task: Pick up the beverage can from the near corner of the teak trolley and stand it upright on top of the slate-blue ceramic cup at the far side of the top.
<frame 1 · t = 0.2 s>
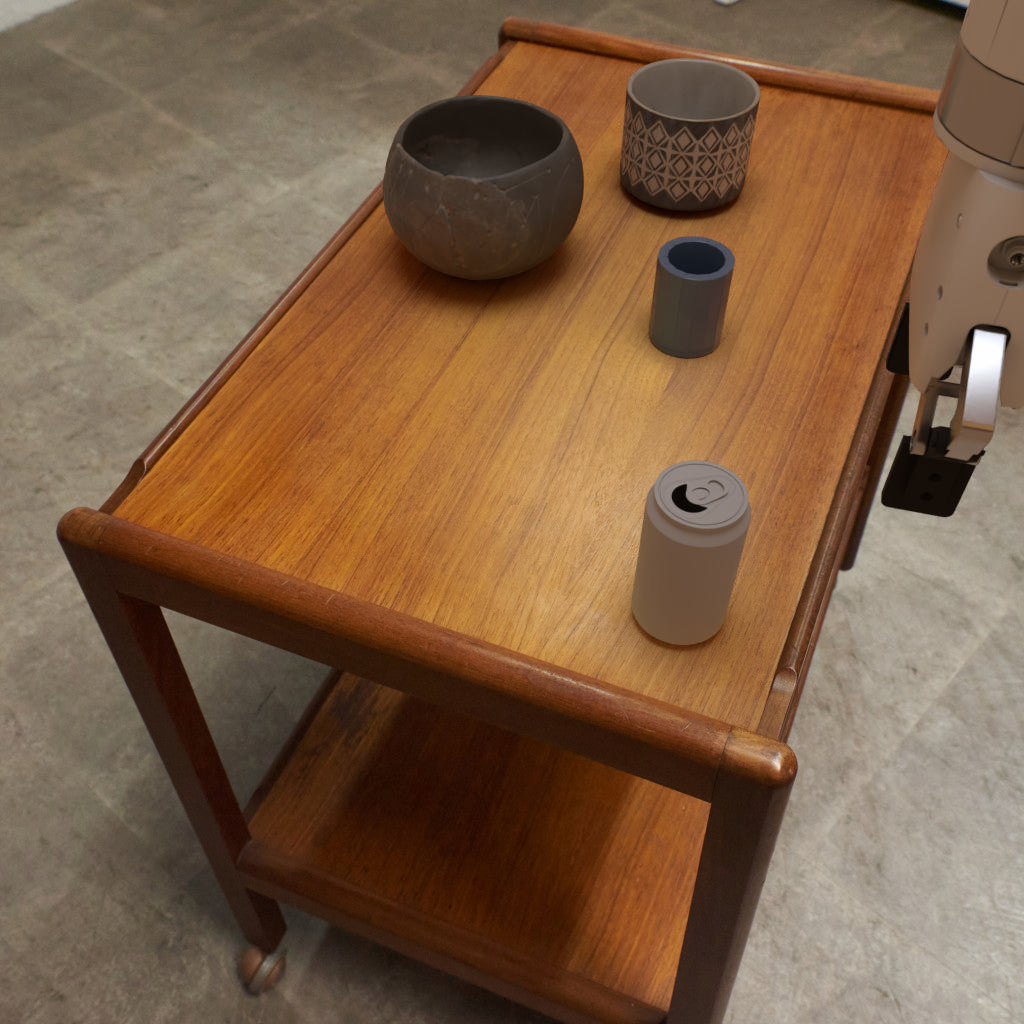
hand: (915, 436, 52), 22 cm above the serving cart, tool pointing down, fingers open, 9 cm apart
cup: (684, 335, 93), on the serving cart
bowl: (485, 257, 101), on the serving cart
beverage can: (677, 614, 73), on the serving cart
planter: (680, 188, 109), on the serving cart
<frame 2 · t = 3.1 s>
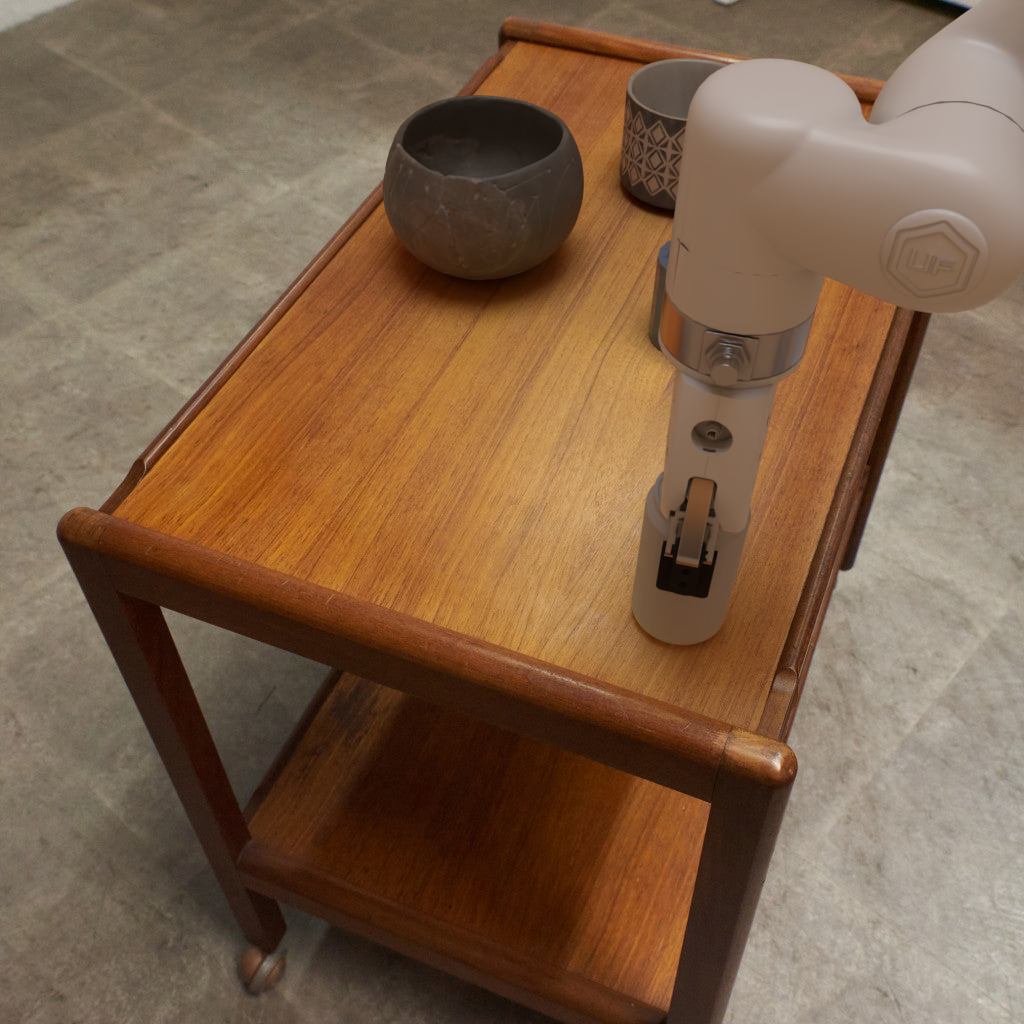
hand: (690, 545, 67), 7 cm above the serving cart, tool pointing down, fingers closed on beverage can, 6 cm apart
beverage can: (677, 614, 73), on the serving cart, touching gripper
everything else where it was.
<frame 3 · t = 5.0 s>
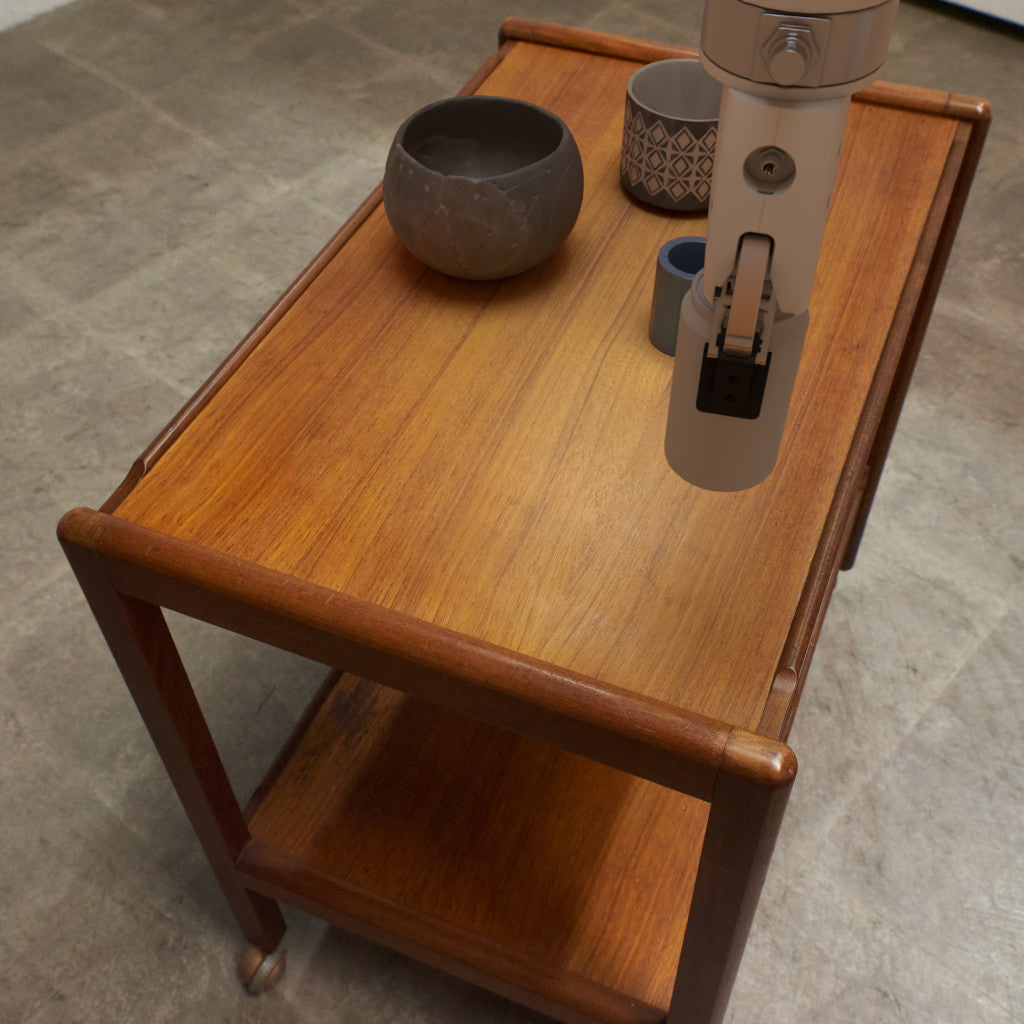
hand: (735, 365, 56), 22 cm above the serving cart, tool pointing down, fingers closed on beverage can, 6 cm apart
beverage can: (718, 463, 61), point 15 cm above the serving cart, touching gripper
everything else where it was.
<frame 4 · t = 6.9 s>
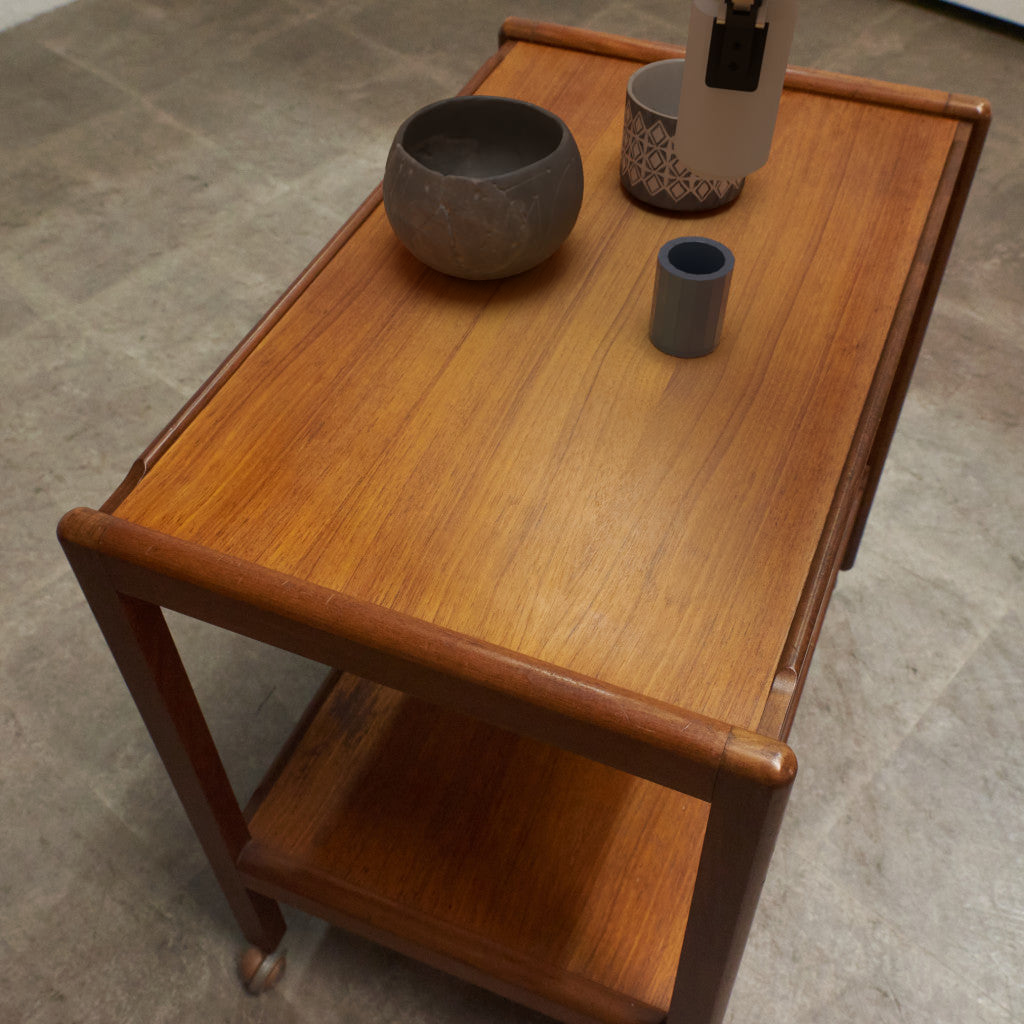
hand: (737, 59, 67), 28 cm above the serving cart, tool pointing down, fingers closed on beverage can, 6 cm apart
beverage can: (719, 164, 72), point 21 cm above the serving cart, touching gripper
everything else where it was.
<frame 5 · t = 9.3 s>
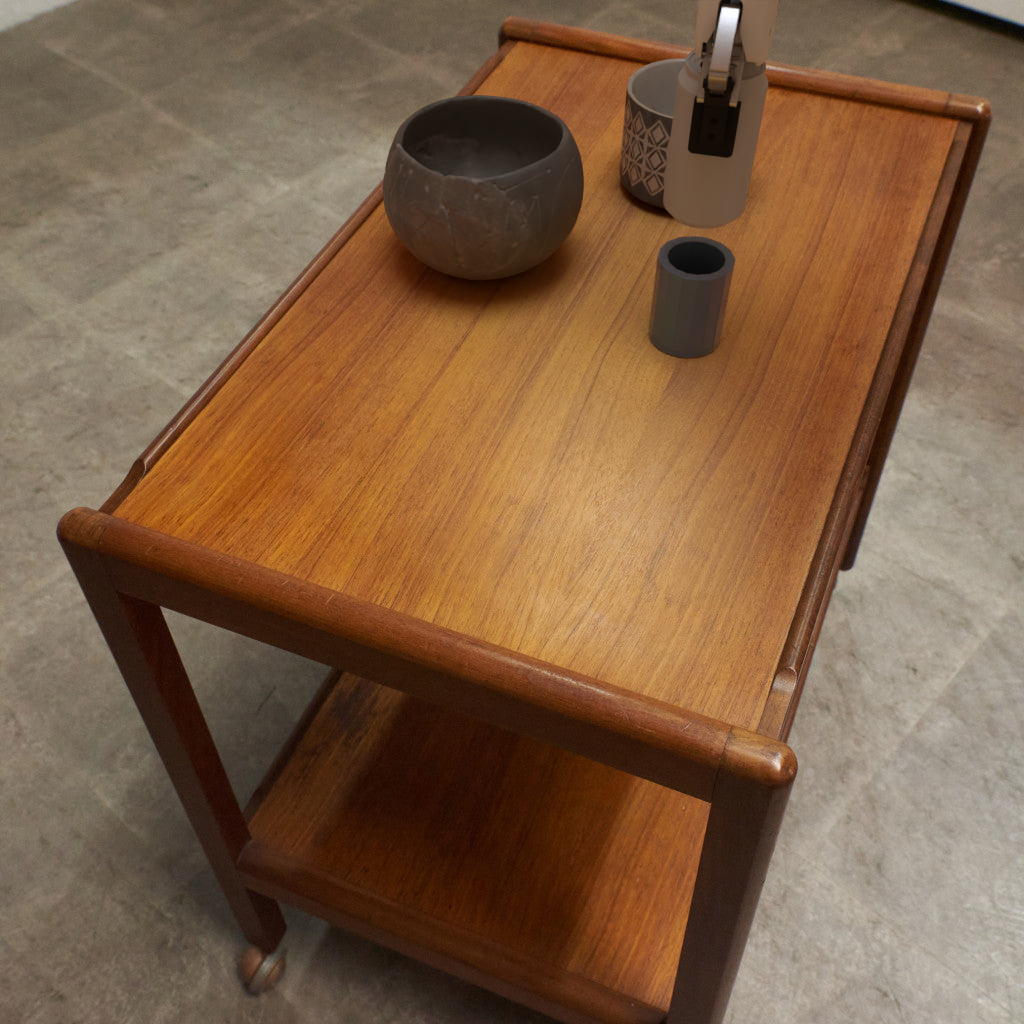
hand: (716, 127, 78), 19 cm above the serving cart, tool pointing down, fingers closed on beverage can, 6 cm apart
beverage can: (702, 213, 84), point 12 cm above the serving cart, touching gripper
everything else where it was.
when the fingers open (15 cm above the serving cart, at t = 10.9 s): beverage can stays where it is, resting on cup.
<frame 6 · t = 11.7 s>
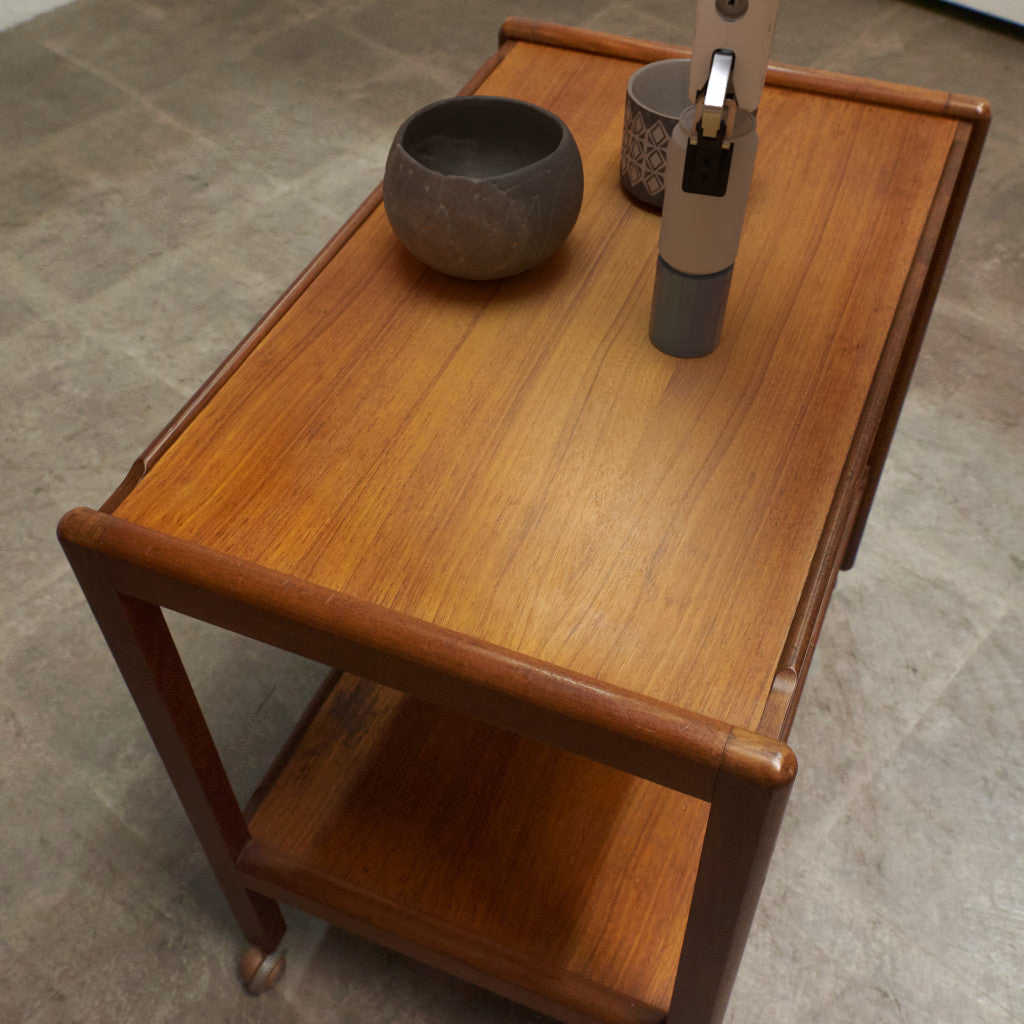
hand: (712, 159, 80), 17 cm above the serving cart, tool pointing down, fingers open, 9 cm apart
beverage can: (696, 259, 87), point 8 cm above the serving cart, touching cup
everything else where it was.
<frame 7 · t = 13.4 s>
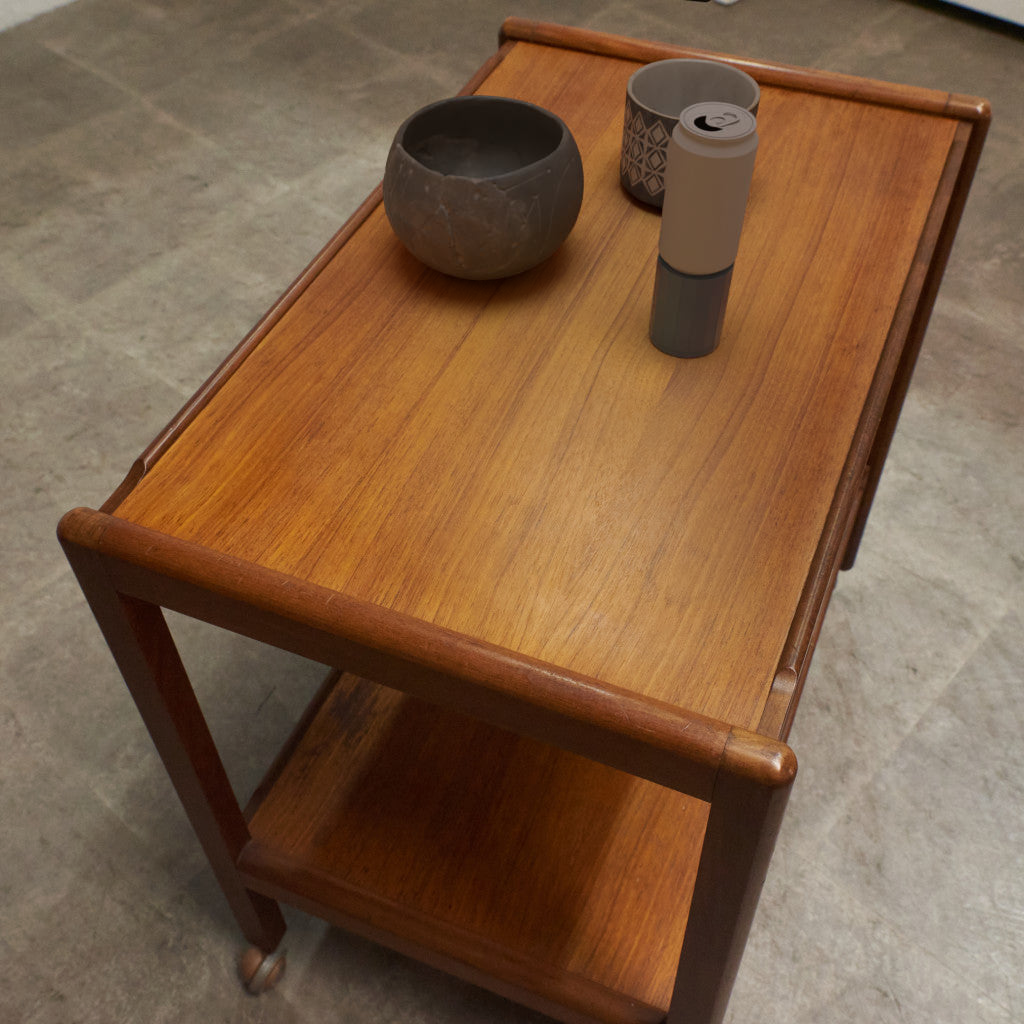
nothing on the serving cart moved.
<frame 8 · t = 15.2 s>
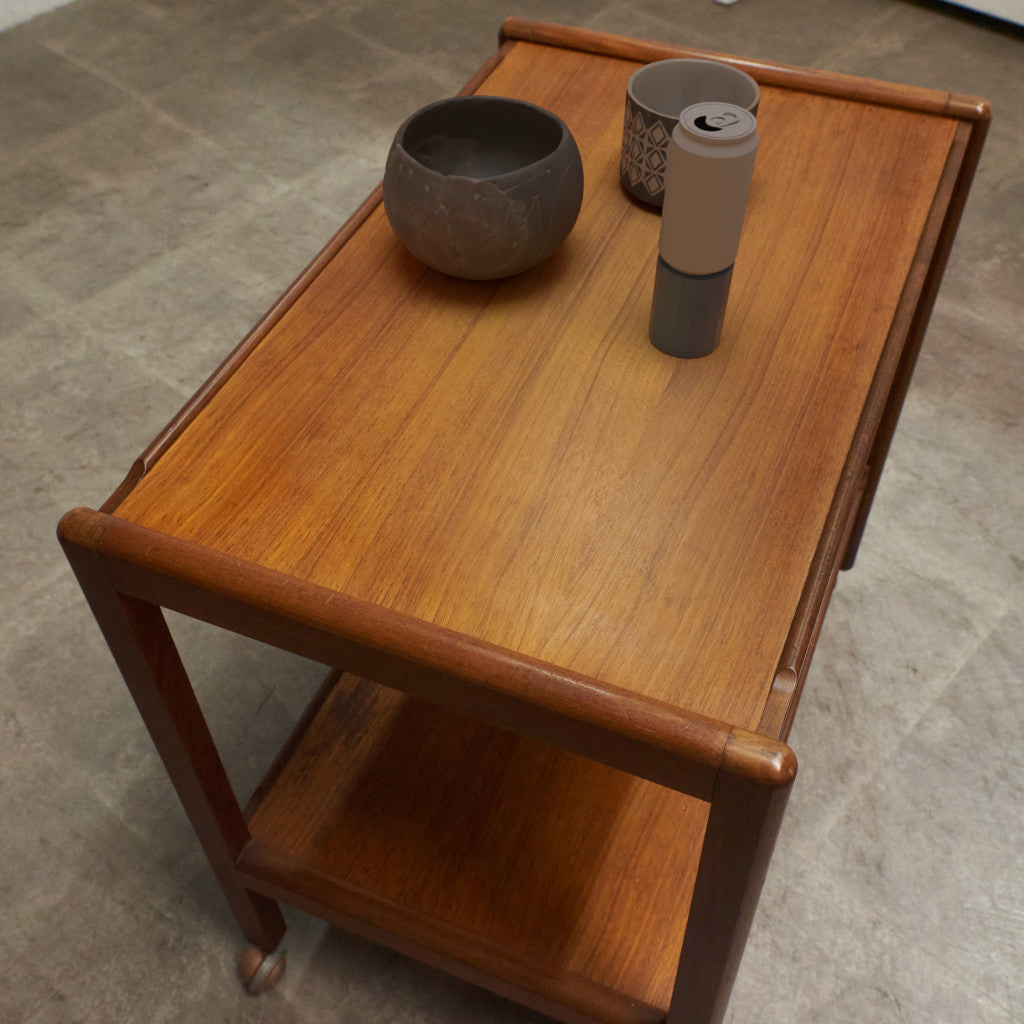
nothing on the serving cart moved.
at the end: beverage can 0.1 cm off-centre on the cup, point 7.8 cm above the cup's base; beverage can tilted 0°; the gripper is holding nothing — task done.
